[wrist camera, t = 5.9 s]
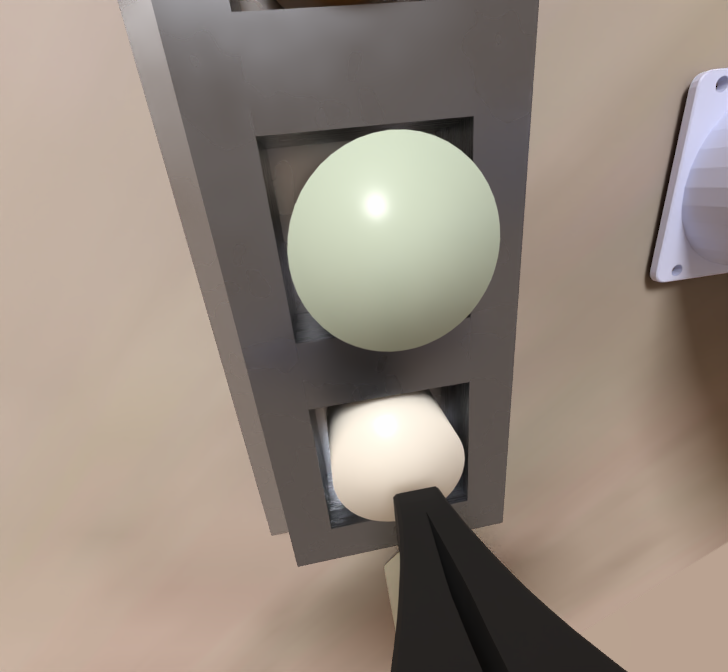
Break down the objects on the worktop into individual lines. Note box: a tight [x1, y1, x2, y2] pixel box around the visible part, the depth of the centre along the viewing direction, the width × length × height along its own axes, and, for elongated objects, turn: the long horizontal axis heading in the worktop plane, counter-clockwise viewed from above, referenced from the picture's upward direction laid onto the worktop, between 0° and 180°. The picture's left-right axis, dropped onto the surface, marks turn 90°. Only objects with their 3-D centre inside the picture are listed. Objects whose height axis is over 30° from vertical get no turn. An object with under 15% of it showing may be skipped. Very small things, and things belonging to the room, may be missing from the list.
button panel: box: [118, 0, 539, 567], centre depth 12 cm, size 12×28×4 cm, turn 6°
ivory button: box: [327, 389, 465, 522], centre depth 14 cm, size 5×5×3 cm
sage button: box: [287, 129, 500, 352], centre depth 10 cm, size 5×5×3 cm
